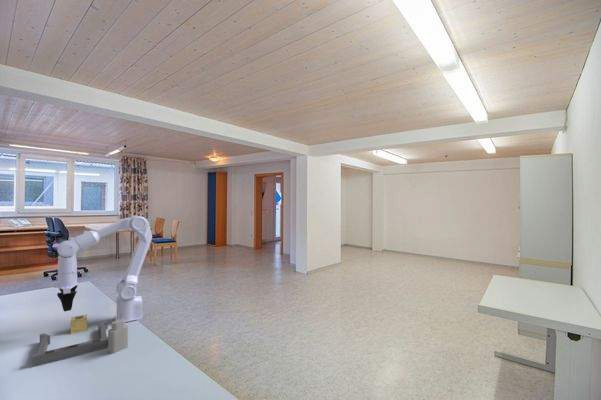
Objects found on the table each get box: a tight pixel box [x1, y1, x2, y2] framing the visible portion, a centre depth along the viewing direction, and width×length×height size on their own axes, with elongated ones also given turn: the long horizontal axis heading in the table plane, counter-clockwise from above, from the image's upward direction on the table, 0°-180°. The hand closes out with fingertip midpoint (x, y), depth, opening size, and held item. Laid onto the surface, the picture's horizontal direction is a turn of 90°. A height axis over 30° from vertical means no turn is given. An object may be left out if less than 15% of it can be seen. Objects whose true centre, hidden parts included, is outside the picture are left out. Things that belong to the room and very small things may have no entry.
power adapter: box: [107, 314, 129, 354], centre depth 99 cm, size 3×5×12 cm, turn 153°
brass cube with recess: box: [70, 314, 88, 334], centre depth 113 cm, size 5×4×5 cm
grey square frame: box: [31, 320, 109, 368], centre depth 101 cm, size 20×19×3 cm
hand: (68, 307), depth 111 cm, fingers open, 7 cm apart
